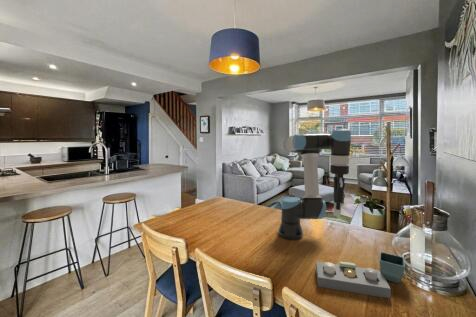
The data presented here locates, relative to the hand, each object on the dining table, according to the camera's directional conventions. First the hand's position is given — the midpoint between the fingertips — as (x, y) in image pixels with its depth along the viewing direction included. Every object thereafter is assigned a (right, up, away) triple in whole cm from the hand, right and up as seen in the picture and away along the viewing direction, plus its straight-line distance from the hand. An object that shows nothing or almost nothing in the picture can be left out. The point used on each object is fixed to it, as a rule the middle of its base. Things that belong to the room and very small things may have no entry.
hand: (337, 215), depth 99 cm
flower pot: (+22, -27, -4) cm, 34 cm away
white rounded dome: (+10, -25, -9) cm, 29 cm away
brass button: (+2, -27, -7) cm, 28 cm away
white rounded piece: (-6, -25, -5) cm, 26 cm away
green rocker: (+3, -22, -3) cm, 23 cm away
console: (+2, -27, -7) cm, 28 cm away
